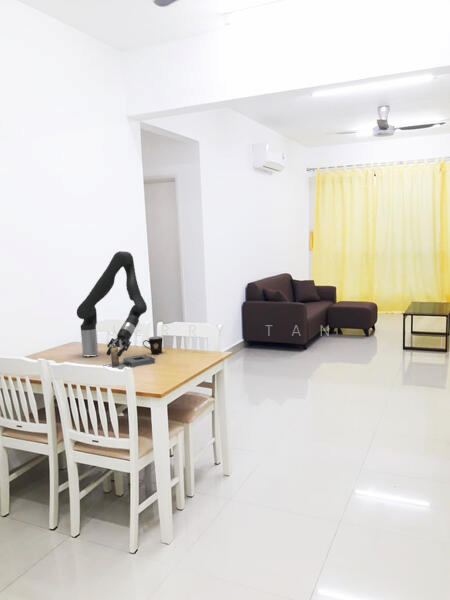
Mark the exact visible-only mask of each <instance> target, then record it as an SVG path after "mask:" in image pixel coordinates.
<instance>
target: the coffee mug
mask: <svg viewBox="0 0 450 600" xmlns="http://www.w3.org/2000/svg"><path fill="white" fill-rule="evenodd" d="M145 342H148V344H149V346H147V345H145V344H144V343H145ZM142 345H143V346H144V348H146V349H149V351H150V353H151V355H154V356H155V355H161V354H162V352H163V336H159V335H158V336H156V335H155V336H150V337H148V340H147V339H146V340H143V341H142Z"/></svg>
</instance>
